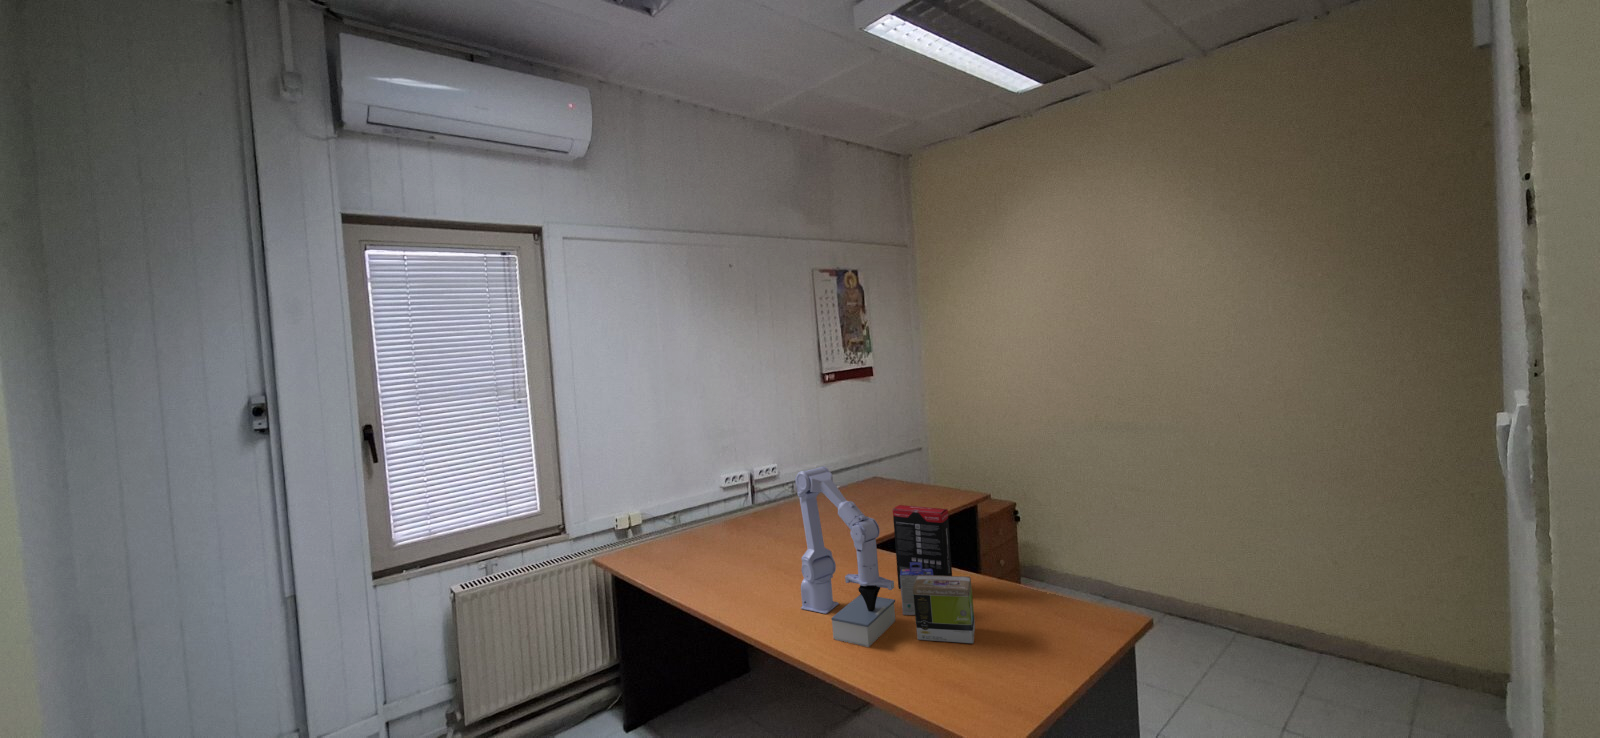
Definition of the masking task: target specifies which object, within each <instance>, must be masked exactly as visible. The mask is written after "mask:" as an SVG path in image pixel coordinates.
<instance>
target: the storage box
mask: <svg viewBox="0 0 1600 738" xmlns="http://www.w3.org/2000/svg"><path fill="white" fill-rule="evenodd" d="M895 611H896V610H895V603H893V604H892V605H891V606H890V607H889V608H888V609H887V610H886V611H885V612H884V613H883V614H882V615H881V616H879V617H878V618H877V619H876V620H875V621H874V622H873V623H872V624H871V625H870V626H869V627H865V626H859V625H854V624H849V623H844V622H839V621H834V620H831V625H832V636H833V640H834V639H835V641H839V642H843V641H844V643H847V642H848V643H847V644H852V643H853V644H852V645H856V644H857V646H861V647H865V648H870V647H871V645H873V644H874V643H875V642H876V641H877V640H879V638H880V637H881V636H882V635H883V634H884V633H885V632H886V631H887V630H888V629H889V628H890V627H891V626H892V625H893V624H894V623H895V622H896V615H895ZM878 637H879V638H878ZM873 642H874V643H873Z"/></svg>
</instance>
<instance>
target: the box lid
mask: <svg viewBox="0 0 1600 738" xmlns="http://www.w3.org/2000/svg"><path fill="white" fill-rule="evenodd" d="M893 603H894V604H895V603H896V599H893V598H892V599H891V598H887V597H881V596H877V599H876V604H875V609H874V610H873V611H872V612H870V611H868V608H867V605H866V603H865V600H864V598H863V596H862V595H861V593H860V594H858V596H857V597H855V598H854V599H853V600H851V601H850V602H849V603H848V604H846V605H845V606H844V607H843V608H842V609H840V610H839V611H838V612H837V613H836V614H834V615H833V616H832V617H831V621H832V620H834V621H839V622H844V623H849V624H854V625H859V626H865V627H869V626H870V625H871V624H872V623H873V622H874V621H875V620H876V619H877V618H878V617H879V616H881V615H882V614H883V613H884V612H885V611H886V610H887V609H888V608H889V607H890V606H891V605H892V604H893Z"/></svg>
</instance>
